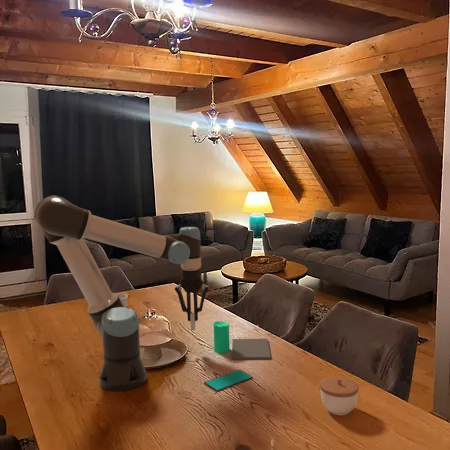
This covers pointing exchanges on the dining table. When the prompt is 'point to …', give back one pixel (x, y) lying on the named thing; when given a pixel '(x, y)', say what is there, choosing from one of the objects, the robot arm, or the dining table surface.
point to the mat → (250, 349)
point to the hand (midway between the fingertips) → (193, 329)
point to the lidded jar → (339, 394)
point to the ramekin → (123, 299)
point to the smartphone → (228, 380)
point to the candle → (221, 337)
